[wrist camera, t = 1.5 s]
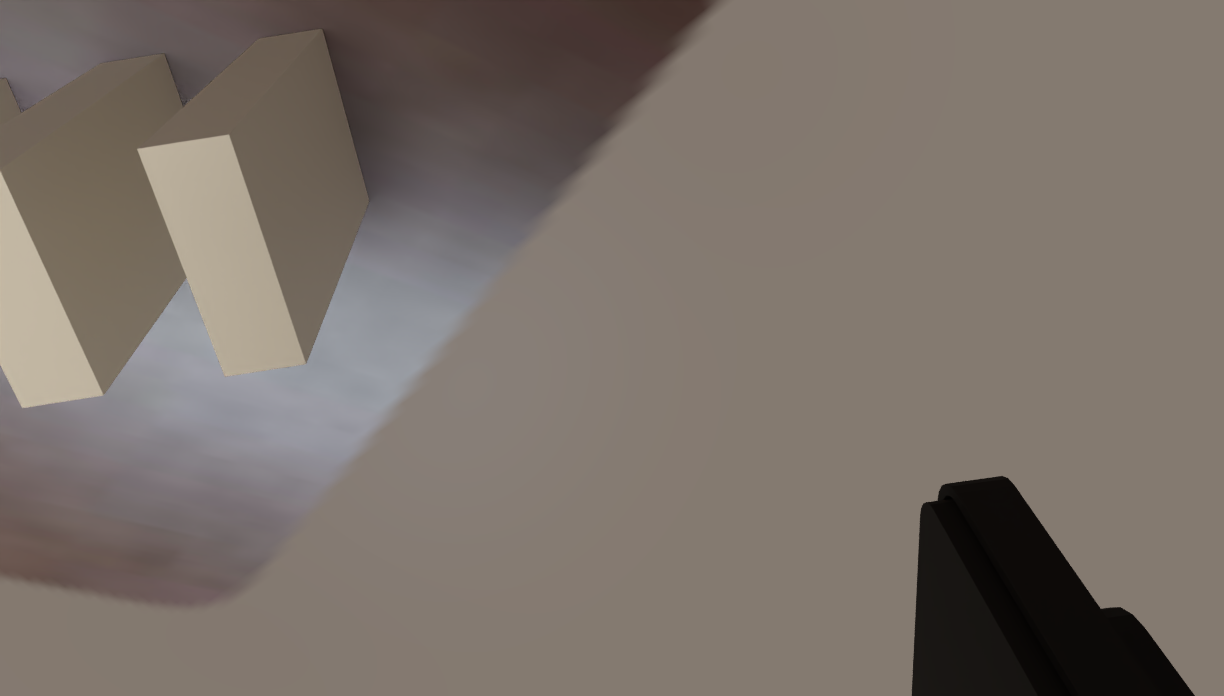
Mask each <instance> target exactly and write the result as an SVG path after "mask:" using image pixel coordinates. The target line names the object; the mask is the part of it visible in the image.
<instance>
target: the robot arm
mask: <svg viewBox="0 0 1224 696" xmlns="http://www.w3.org/2000/svg"><path fill="white" fill-rule="evenodd" d="M912 696H1195V695H1194V694H1193V693H1192V691H1191V690H1190V689H1189V687H1188V686H1187V685H1186V683H1185V682H1184V681H1183V679H1182V678H1181V676H1180V675H1179V674H1178V672H1177V671H1176V670H1175V668H1174V667H1173V666H1172V664H1171V663H1170V661H1169V660H1168V659H1167V657H1166V656H1165V655H1164V653H1163V652H1162V651H1161V649H1160V648H1159V646H1158V645H1157V644H1156V642H1155V641H1154V640H1153V638H1152V637H1151V636H1150V634H1149V633H1148V631H1147V630H1146V629H1145V628H1144V626H1143V625H1142V624H1141V623H1140V622H1139V621H1138V620H1137V619H1136V618H1135V617H1134V615H1133V614H1131V613H1129V612H1128V611H1126V610H1124V609H1123V608H1121V607H1117V608H1116V607H1115V608H1104V609H1100V607H1099V606H1098V604H1097V603H1096V602H1095V600H1094V599H1093V597H1092V596H1091V595H1090V593H1089V591H1088V590H1087V589H1086V587H1085V586H1084V584H1083V583H1082V582H1081V580H1080V579H1079V577H1078V576H1077V574H1076V573H1075V571H1074V570H1073V569H1072V567H1071V566H1070V564H1069V563H1068V561H1067V560H1066V559H1065V557H1064V556H1063V554H1062V553H1061V551H1060V550H1059V548H1058V547H1057V546H1056V544H1055V543H1054V541H1053V540H1052V538H1051V537H1050V536H1049V534H1048V533H1047V531H1046V530H1045V528H1044V527H1043V526H1042V524H1041V523H1040V521H1039V520H1038V518H1037V517H1036V516H1035V514H1034V513H1033V511H1032V510H1031V508H1030V507H1029V506H1028V504H1027V503H1026V501H1025V500H1024V498H1023V497H1022V496H1021V494H1020V493H1019V491H1018V490H1017V488H1016V487H1015V486H1014V484H1013V483H1012V482H1011V481H1010V480H1009V479H1008V478H1006V477H1003V476H999V477H992V478H985V479H978V480H970V481H963V482H956V483H949V484H945V485H942V487H941V489H940V491H939V495H938V501H934V502H926V503H924V504H923V505H922V508H921V514H920V533H919V554H918V576H917V596H916V618H915V638H914V660H913V681H912Z"/></svg>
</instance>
